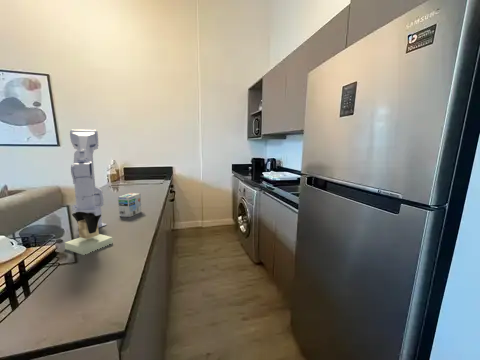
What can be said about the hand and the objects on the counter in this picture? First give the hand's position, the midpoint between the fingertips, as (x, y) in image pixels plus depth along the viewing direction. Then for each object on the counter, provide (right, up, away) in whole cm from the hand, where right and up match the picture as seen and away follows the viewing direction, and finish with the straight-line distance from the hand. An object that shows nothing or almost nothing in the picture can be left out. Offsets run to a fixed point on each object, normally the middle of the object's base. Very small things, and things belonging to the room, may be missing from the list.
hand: (88, 231), depth 89 cm
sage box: (0, -6, +1) cm, 6 cm away
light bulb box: (-3, 0, +42) cm, 43 cm away
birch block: (0, -2, 0) cm, 2 cm away
